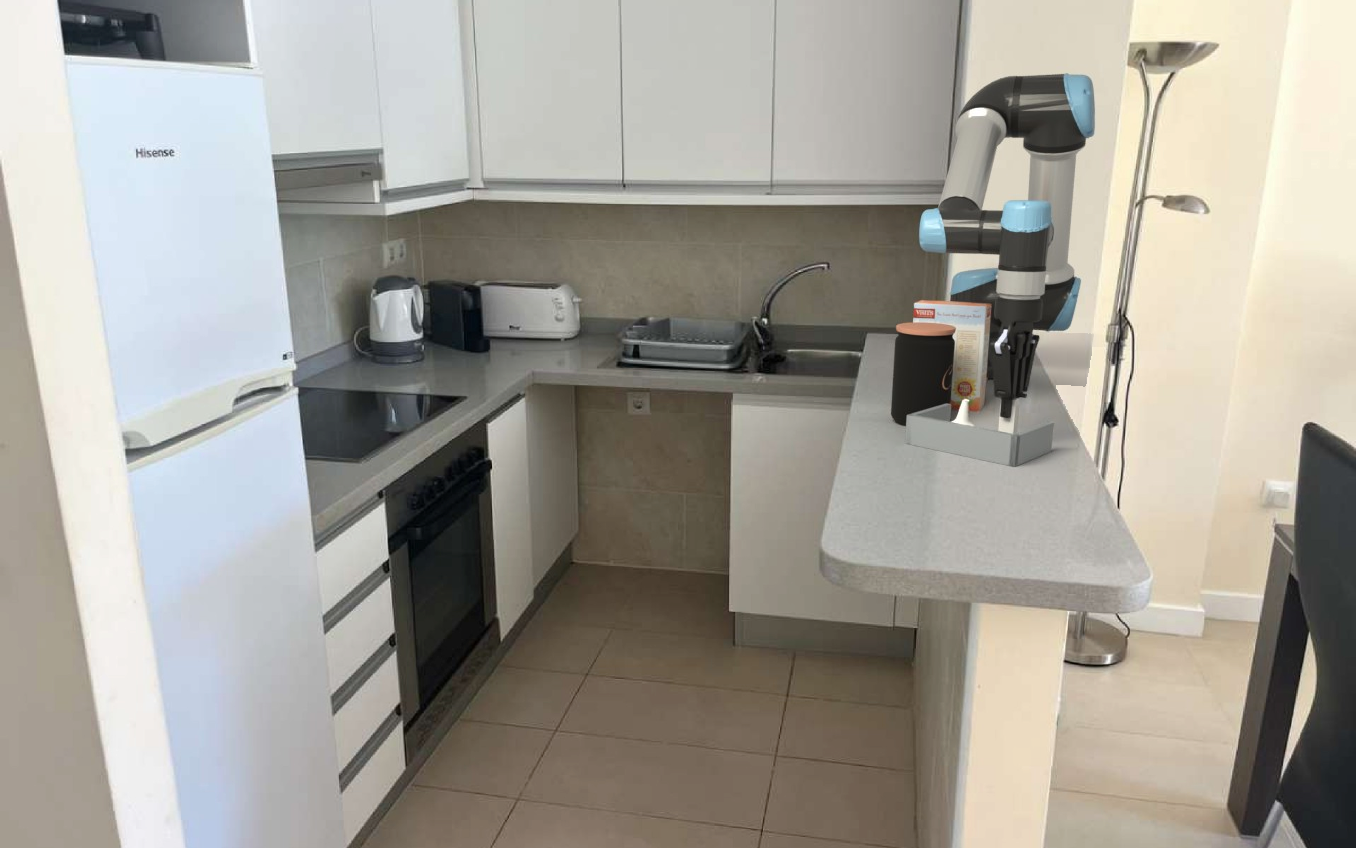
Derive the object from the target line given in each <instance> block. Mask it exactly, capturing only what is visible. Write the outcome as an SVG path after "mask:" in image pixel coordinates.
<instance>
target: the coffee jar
mask: <svg viewBox="0 0 1356 848" xmlns="http://www.w3.org/2000/svg"><path fill="white" fill-rule="evenodd" d="M895 330H896V332H897V333H898V335H897V336H896V338H895V339H894V354H893V372H892V388H891V389H892V390H891V404H890V407H891V408H890V416H891V417H892V419H893V421H894V423H896V424H897V425H900V426H902V427H906V421H907V415H909V414H912V413H915V412H919V411H922V410H926V409H929V408H932V407H936V406H939V405H943V404H946V403H947V404H951V391H952V377H953V363H954V349H955V340H954V339H953V334H954V333H955V331H956V327H954V326H951V325H946V324H939V323H925V322H913V321H912V322H903V323H898V324H897V325H896V326H895Z"/></svg>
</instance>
